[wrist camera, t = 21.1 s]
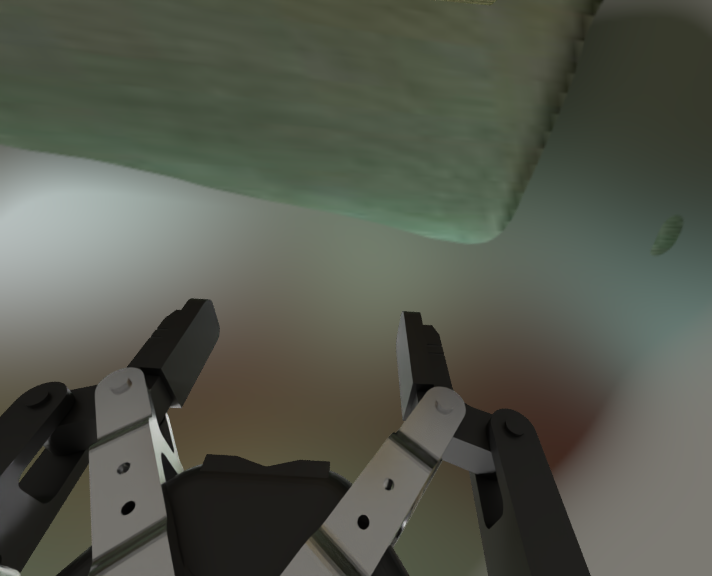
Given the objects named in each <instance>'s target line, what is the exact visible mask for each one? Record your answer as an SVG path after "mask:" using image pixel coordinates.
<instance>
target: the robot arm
mask: <svg viewBox="0 0 712 576" xmlns="http://www.w3.org/2000/svg"><path fill="white" fill-rule="evenodd" d="M219 332H220V328H219V323H218V320H217V316H216V313H215V309H214V306H213V303H212V301H211V300H208V299H193V298H192V299H189V300H188V301H187V303H186V304H185V305H184V307H183V308H182V310H176V311H174V312H173V313H171V314H170V315H169V316H167V317H166V318H165V319H164V320H163V321H162V322H161V324H160V325H159V326H158V328H157V330H155V332H154V333H153V334H152V336H151V338H149V339H148V341H147V342H146V343H145V344H144V346H143V347H142V348H141V350H140V351H139V352H138V353H137V355H136V356H135V357H134V359H133V360H132V361H131V363H130V364H129V365H128V366H127V368H123V369H120V370H117V371H115V372H113V373H111V374H109V375H108V376H106V377H105V378H104V379H103V380H102V381H101V382H100V383H99V384H98V385H94V386H89V387H84V388H79V389H74V390H69V389H68V388H67V387H66V386H65V384H63V383H61V382H49V383H45V384H41V385H39V386H36V387H34V388H32V389H30V390H28V391H27V392H25V393H24V394H22V395H21V396H20V397H19V398H18V399H17V400H16V401H15V402H14V403H13V404H12V405H11V406H10V407H9V408H8V409H7V410H6V411H5V412H4V413H3V414H2V415H1V417H0V576H21V575H20V572H21V571H22V569H23V568H24V566H25V564H26V563H27V561H28V560H29V558H30V556H31V555H32V553H33V551H34V550H35V548H36V547H37V545H38V544H39V542H40V540H41V539H42V537H43V536H44V534H45V532H46V531H47V529H48V528H49V526H50V524H51V523H52V521H53V520H54V518H55V516H56V515H57V513H58V512H59V510H60V508H61V507H62V505H63V504H64V502H65V500H66V499H67V497H68V495H69V494H70V492H71V491H72V489H73V488H74V486H75V484H76V483H77V481H78V480H79V478H80V476H81V475H82V473H83V472H84V470H85V468H86V467H87V465H88V464H89V470H90V471H89V473H90V502H91V528H92V529H91V530H92V545H91V546H90V547H89V548H88V549H87V550H86V551H84V553H82V554H81V555H80V556H79V557H77V558H76V559H75V560H74V561H73V562H71V563H70V564H69V565H68V566H67V567H66V568H64V569H63V570H62V571H61V572H60V573H58V574H57V575H56V576H409V574H408V572H407V571H406V569H405V568H404V566H403V564H402V562H401V561H400V559H399V557H398V556H397V554H396V553H395V551H394V549H393V547H394V546H395V543H396V542H397V540H398V539H399V537H400V535H401V533H402V532H403V530H404V528H405V526H406V525H407V523H408V521H409V519H410V517H411V516H412V514H413V512H414V510H415V508H416V506H417V504H418V503H419V501H420V499H421V497H422V495H423V493H424V492H425V490H426V488H427V487H428V485H429V483H430V481H431V480H432V478H433V476H434V474H435V472H436V471H437V469H438V467H439V466H440V464H441V462H442V460H444V461H447V462H449V463H452V464H454V465H456V466H459V467H461V468H463V469H466V470H468V471H469V473H470V479H471V484H472V490H473V495H474V500H475V506H476V511H477V517H478V522H479V528H480V533H481V538H482V544H483V550H484V555H485V561H486V566H487V572H488V576H591V575H590V573H589V570H588V567H587V565H586V562H585V560H584V557H583V554H582V552H581V549H580V546H579V544H578V541H577V539H576V536H575V533H574V531H573V528H572V526H571V523H570V520H569V518H568V515H567V512H566V510H565V507H564V504H563V502H562V499H561V496H560V494H559V491H558V489H557V486H556V483H555V481H554V478H553V475H552V473H551V470H550V467H549V465H548V462H547V460H546V457H545V454H544V452H543V449H542V446H541V444H540V441H539V438H538V436H537V433H536V431H535V429H534V427H533V425H532V424H531V422H530V421H529V420H528V419H527V418H526V417H524V416H523V415H522V414H520V413H519V412H516V411H514V410H511V409H499V410H497V411H495V412H494V413H493V415H492V414H490V413H487V412H484V411H481V410H478V409H476V408H473V407H471V406H469V405H467V404H466V403H464V401H463V400H462V398H461V397H460V396H459V395H458V394H457V393H456V392H454V390H453V388H452V384H451V381H450V376H449V372H448V368H447V364H446V360H445V356H444V352H443V348H442V344H441V340H440V336H439V334H438V333H437V331H436V330H435V329H434V327H433V326H432V325H423V324H422V318H421V314H420V312H407V311H402V313H401V318H400V323H399V329H398V334H397V341H396V352H397V363H398V374H399V384H400V395H401V407H402V418H403V421H405V422H404V424H403V425H402V426H401V428H400V429H399V430H398V431H397V432H396V433H392V434H391V435H390V436H389V437H388V438H387V440H386V441H385V442H384V444H383V445H382V446H381V448H380V449H379V450H378V452H377V453H376V454H375V456H374V457H373V458H372V460H371V461H370V462H369V464H368V465H367V466H366V468H365V469H364V470H363V472H362V473H361V474H360V476H359V477H358V478H357V480H356V481H355V482H354V483H353V484H352V483H350V482H349V481H348V480H347V479H346V478H344V477H343V476H341V475H339V474H337V473H335V472H332V471H330V462H326V461H310V460H297V461H292V462H287V463H282V464H278V465H273V466H262V465H260V464H257V463H254V462H251V461H249V460H246V459H244V458H241V457H238V456H228V455H212V454H207V455H206V457H205V460H204V462H203V464H201V465H197V466H195V467H192V468H189V469H187V470H185V471H184V470H183V468H182V465H181V463H180V460H179V457H178V453H177V449H176V445H175V441H174V437H173V433H172V429H171V425H170V421H169V417H168V415H167V411H168V409H169V407H172V408H173V407H174V408H182V406H183V404H184V402H185V401H186V399H187V397H188V395H189V393H190V391H191V389H192V387H193V385H194V384H195V381H196V380H197V378H198V376H199V374H200V372H201V370H202V369H203V366H204V365H205V363H206V361H207V359H208V357H209V355H210V353H211V351H212V350H213V348H214V346H215V344H216V342H217V340H218V337H219ZM42 446H44V447H45V449H44V451H43V452H42V454H41V455H40V456H39V458H38V459H37V460H36V461H35V463H34V464H33V465H32V467H31V468H30V469H29V470H28V472H27V473H26V475H25V476H24V477H23V478H22V480H21V481H20V482H19V479H20V476H21V474H22V472H23V471H24V469H25V468H26V467H27V465H28V464H29V463H30V462H31V460H32V459H33V458H34V456H35V455H36V454H37V452H38V451H39V450H40V449H41V447H42Z"/></svg>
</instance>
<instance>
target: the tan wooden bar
mask: <svg viewBox="0 0 712 576" xmlns="http://www.w3.org/2000/svg"><path fill="white" fill-rule="evenodd" d="M437 1H448V2H459V3H470V4H481V5H492V4H493V3H494V2H495V1H497V0H437Z"/></svg>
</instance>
